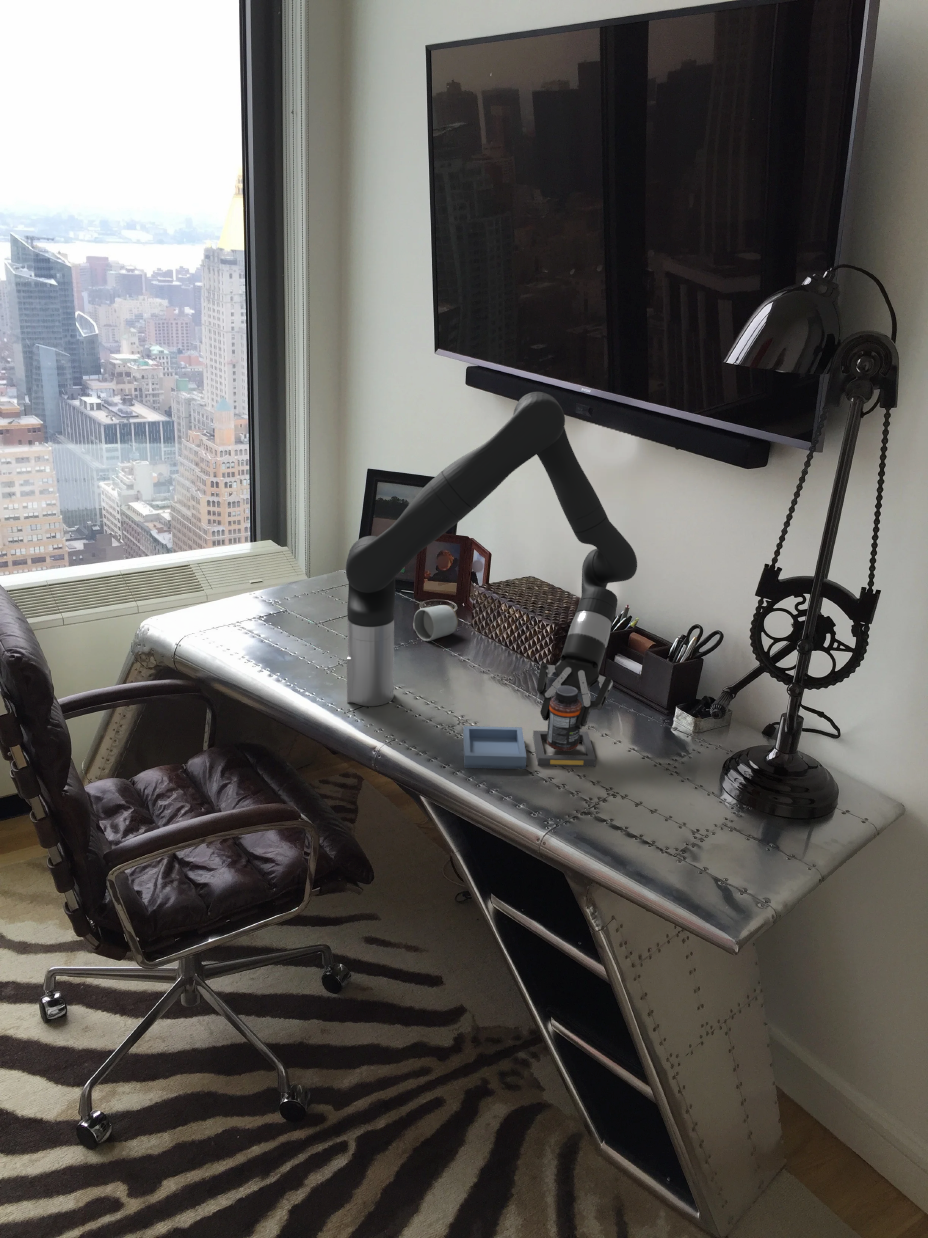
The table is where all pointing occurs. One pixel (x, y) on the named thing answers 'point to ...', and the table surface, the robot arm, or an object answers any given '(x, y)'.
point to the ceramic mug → (435, 622)
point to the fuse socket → (563, 759)
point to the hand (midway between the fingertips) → (561, 723)
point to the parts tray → (494, 747)
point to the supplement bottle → (564, 719)
